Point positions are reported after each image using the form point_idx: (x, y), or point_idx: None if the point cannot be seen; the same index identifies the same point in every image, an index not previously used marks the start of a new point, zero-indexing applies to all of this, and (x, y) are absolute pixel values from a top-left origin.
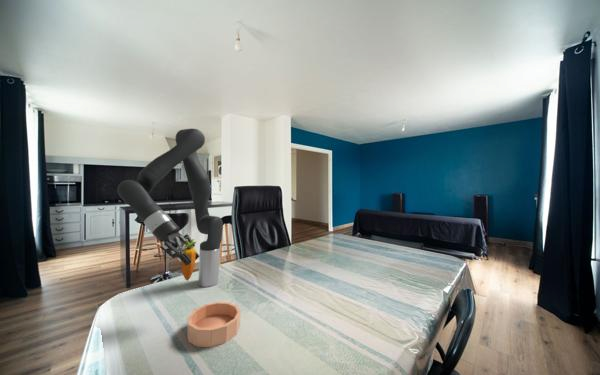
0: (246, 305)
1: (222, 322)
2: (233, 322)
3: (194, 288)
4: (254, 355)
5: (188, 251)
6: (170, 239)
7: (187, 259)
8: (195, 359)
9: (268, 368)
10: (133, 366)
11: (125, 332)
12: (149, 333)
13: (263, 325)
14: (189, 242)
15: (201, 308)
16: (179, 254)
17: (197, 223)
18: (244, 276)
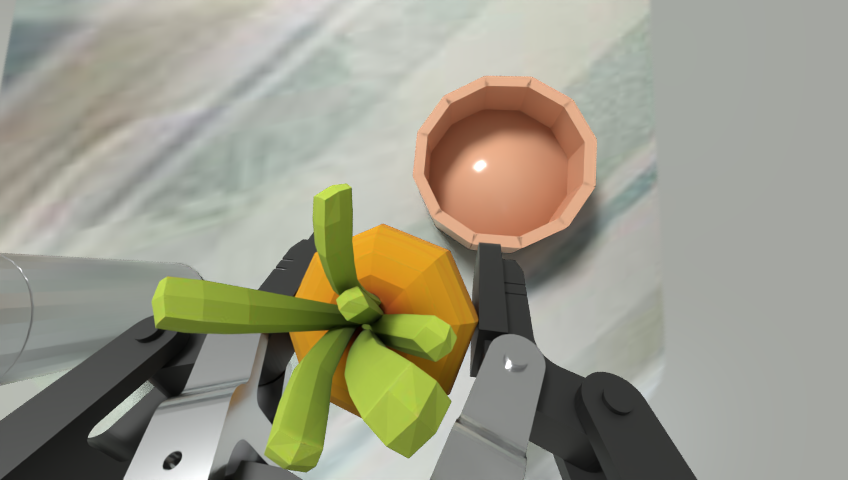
0: (360, 112)
1: (475, 155)
2: (544, 86)
3: None
4: (603, 43)
5: (451, 295)
6: None
7: (505, 277)
8: (622, 185)
9: (646, 4)
10: (653, 337)
11: None
12: None
13: (475, 40)
14: (163, 401)
15: (459, 222)
16: (581, 376)
17: None
18: (123, 168)
